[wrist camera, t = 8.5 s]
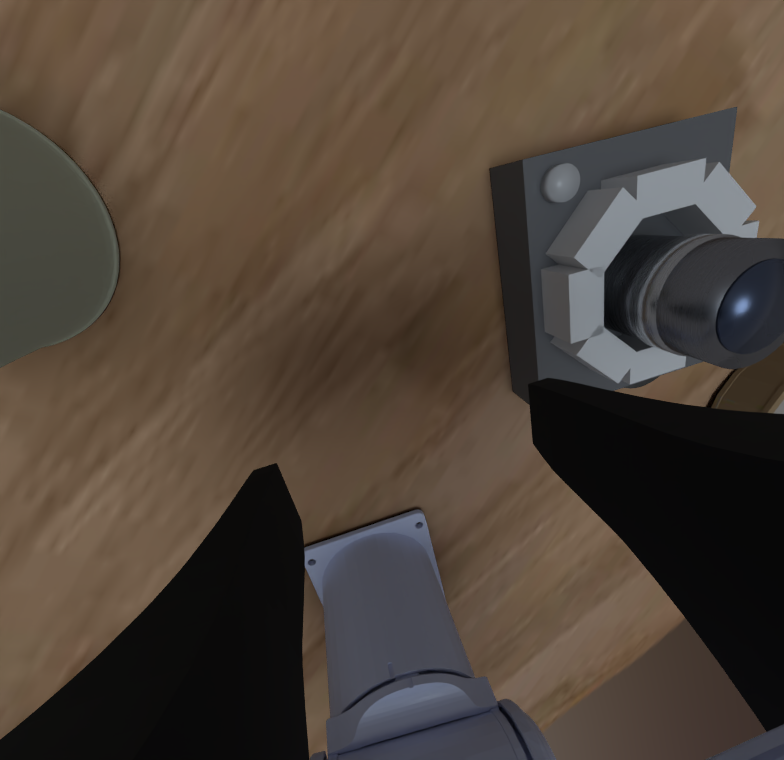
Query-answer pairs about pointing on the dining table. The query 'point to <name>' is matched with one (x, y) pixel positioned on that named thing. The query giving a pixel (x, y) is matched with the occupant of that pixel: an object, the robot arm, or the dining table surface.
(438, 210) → the dining table surface
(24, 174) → the can
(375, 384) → the dining table surface
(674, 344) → the lens
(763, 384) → the alarm clock
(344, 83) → the dining table surface
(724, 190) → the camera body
